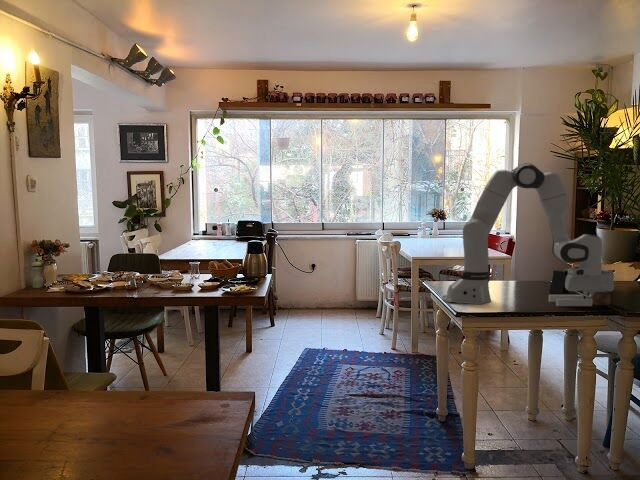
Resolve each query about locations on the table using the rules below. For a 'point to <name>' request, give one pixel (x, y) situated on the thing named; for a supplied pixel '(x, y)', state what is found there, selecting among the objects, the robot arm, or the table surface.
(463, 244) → the robot arm
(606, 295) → the walnut block
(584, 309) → the table surface
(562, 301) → the chute
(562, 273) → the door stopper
